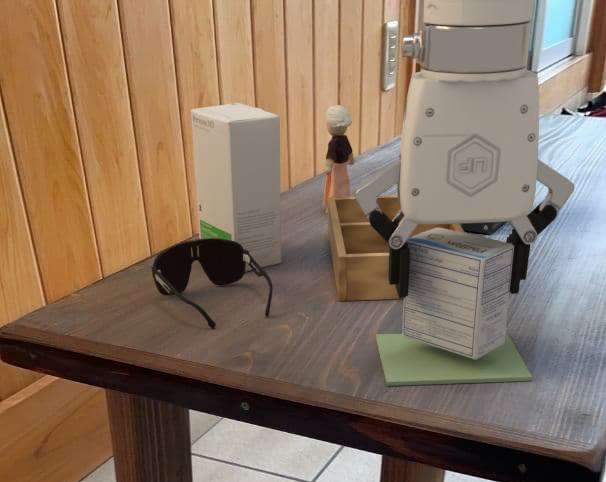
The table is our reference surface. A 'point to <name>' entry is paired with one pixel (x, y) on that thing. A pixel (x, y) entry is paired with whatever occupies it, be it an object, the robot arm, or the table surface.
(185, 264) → the sunglasses
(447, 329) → the medicine box
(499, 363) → the pad
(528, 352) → the table surface
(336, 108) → the grandmother figurine
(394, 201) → the organizer
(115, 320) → the table surface
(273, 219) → the cosmetic box
